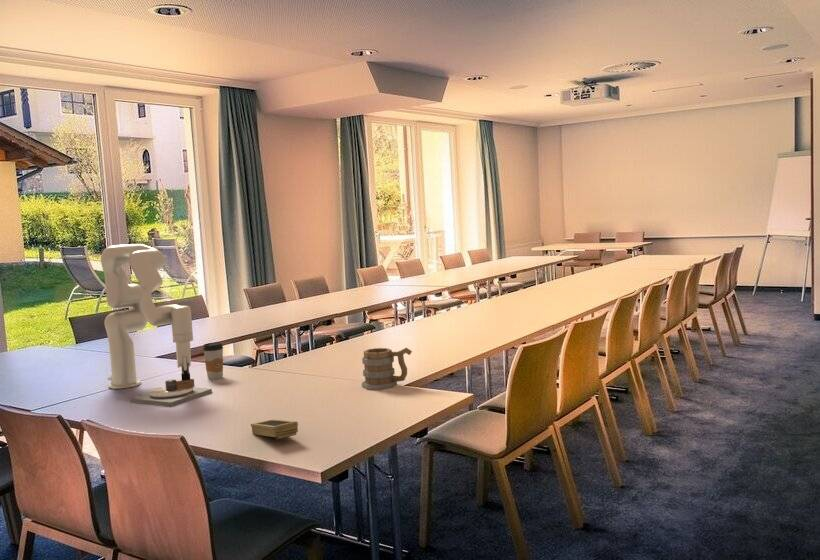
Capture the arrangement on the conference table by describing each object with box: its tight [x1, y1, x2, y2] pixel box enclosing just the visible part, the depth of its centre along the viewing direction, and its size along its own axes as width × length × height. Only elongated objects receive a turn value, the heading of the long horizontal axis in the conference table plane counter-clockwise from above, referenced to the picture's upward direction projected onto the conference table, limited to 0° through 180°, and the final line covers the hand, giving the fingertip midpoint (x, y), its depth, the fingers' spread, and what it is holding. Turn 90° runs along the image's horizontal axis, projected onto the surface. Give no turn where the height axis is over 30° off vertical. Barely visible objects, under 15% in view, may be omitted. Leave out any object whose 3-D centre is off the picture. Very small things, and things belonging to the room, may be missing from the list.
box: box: [250, 418, 299, 441], centre depth 210 cm, size 8×22×5 cm, turn 36°
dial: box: [149, 378, 195, 398], centre depth 267 cm, size 16×16×5 cm
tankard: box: [361, 347, 413, 391], centre depth 267 cm, size 20×13×15 cm, turn 71°
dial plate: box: [130, 386, 213, 407], centre depth 267 cm, size 21×21×2 cm
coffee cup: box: [202, 341, 224, 381], centre depth 297 cm, size 8×8×15 cm
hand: (186, 383), depth 272 cm, fingers closed
